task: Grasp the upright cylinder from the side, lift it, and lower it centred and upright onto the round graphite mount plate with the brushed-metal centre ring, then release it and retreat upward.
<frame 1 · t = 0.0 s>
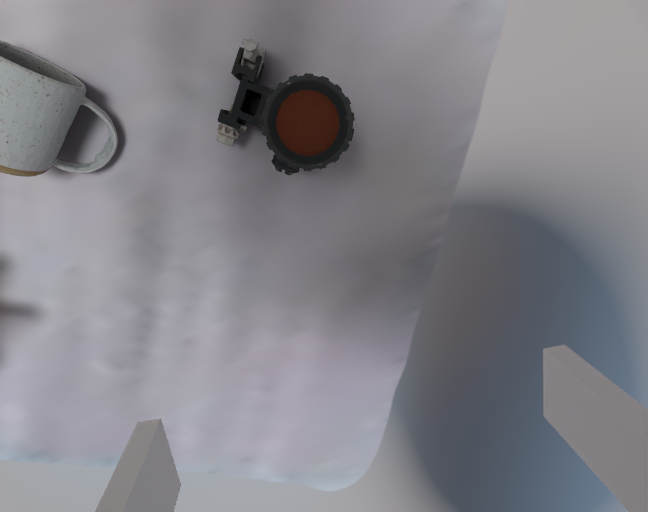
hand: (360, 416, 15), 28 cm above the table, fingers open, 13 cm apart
ceramic mug: (57, 116, 38), on the table
scope: (288, 117, 39), on the table
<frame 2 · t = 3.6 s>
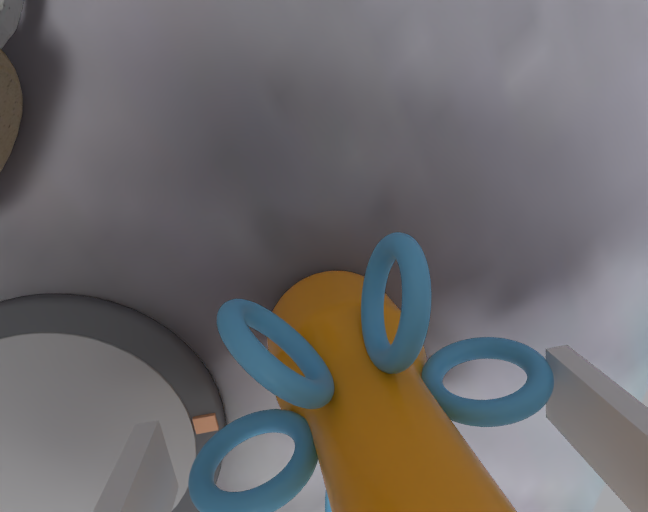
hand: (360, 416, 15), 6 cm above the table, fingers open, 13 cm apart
mount plate: (75, 431, 21), on the table
cylinder: (329, 328, 21), on the table
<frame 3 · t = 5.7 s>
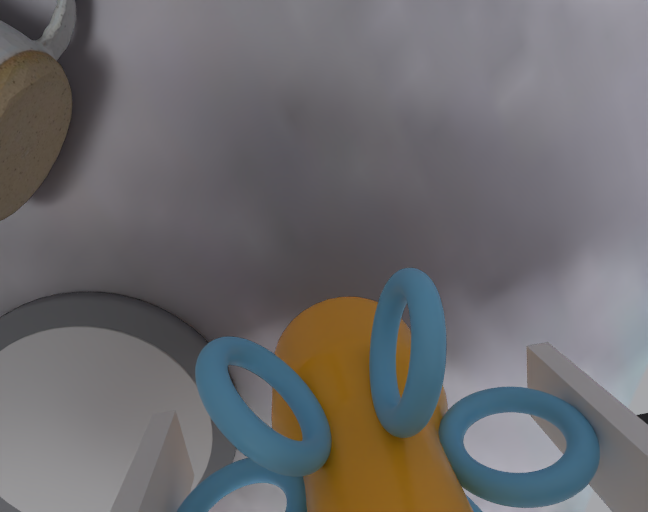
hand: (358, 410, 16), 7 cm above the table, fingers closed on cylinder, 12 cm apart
mount plate: (102, 418, 23), on the table
cylinder: (343, 358, 19), point 4 cm above the table, touching gripper
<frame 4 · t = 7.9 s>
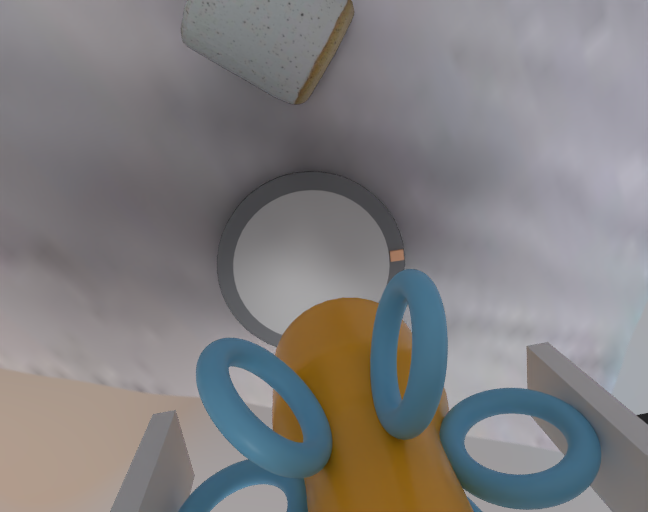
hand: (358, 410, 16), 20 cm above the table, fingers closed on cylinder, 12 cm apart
mount plate: (311, 263, 35), on the table
ceramic mug: (278, 12, 30), on the table
cylinder: (343, 359, 19), point 16 cm above the table, touching gripper
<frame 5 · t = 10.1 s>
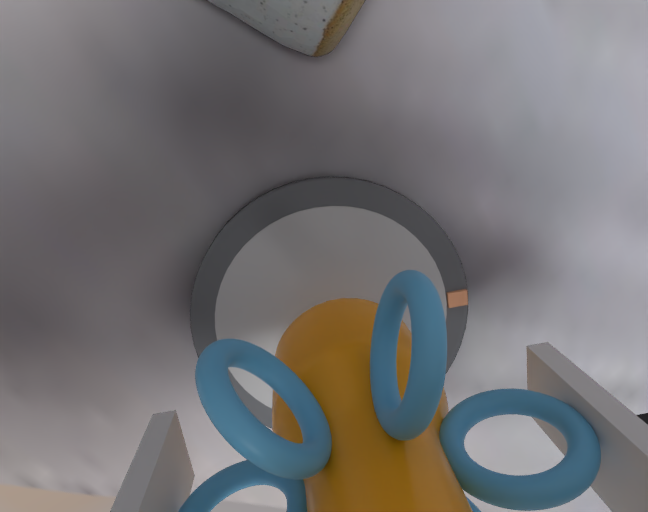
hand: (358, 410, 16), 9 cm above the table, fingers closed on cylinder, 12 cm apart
mount plate: (330, 310, 24), on the table
cylinder: (343, 359, 19), point 5 cm above the table, touching gripper
when the fingers open (6 cm above the table, at t = 11.8 s): cylinder drops 1 cm, resting on mount plate.
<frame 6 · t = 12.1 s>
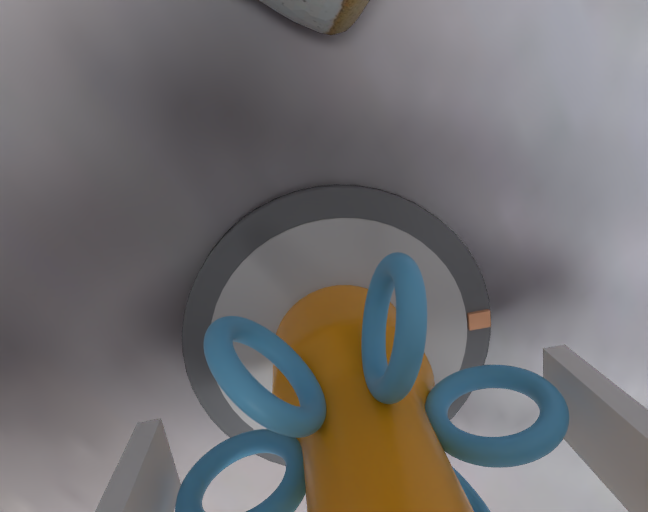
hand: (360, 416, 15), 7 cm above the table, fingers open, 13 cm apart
mount plate: (337, 331, 22), on the table
cylinder: (339, 343, 20), point 1 cm above the table, touching mount plate
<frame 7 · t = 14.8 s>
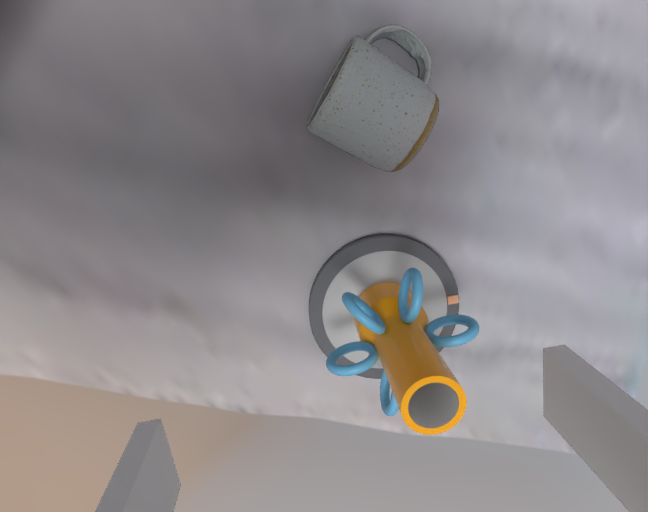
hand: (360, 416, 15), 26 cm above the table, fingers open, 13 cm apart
mount plate: (382, 306, 43), on the table
ceramic mug: (370, 96, 38), on the table
cylinder: (384, 311, 42), point 1 cm above the table, touching mount plate
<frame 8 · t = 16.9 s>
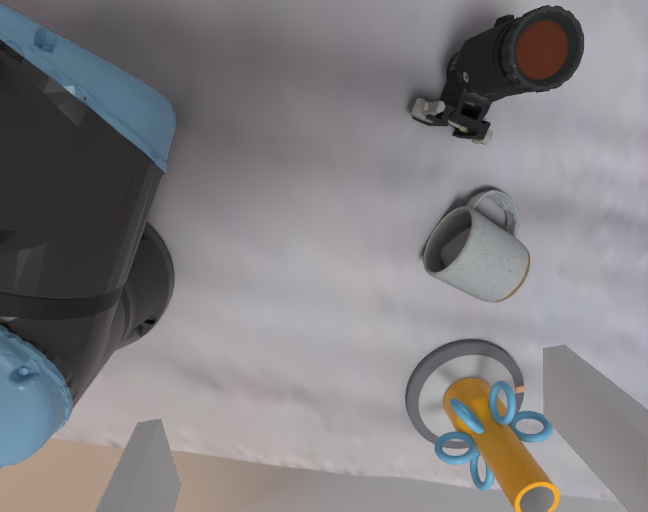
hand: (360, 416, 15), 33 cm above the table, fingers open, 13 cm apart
mount plate: (462, 392, 54), on the table
ceramic mug: (466, 235, 49), on the table
cylinder: (466, 398, 53), point 1 cm above the table, touching mount plate
scope: (460, 82, 44), on the table
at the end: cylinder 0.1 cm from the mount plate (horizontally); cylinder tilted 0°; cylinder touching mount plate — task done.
